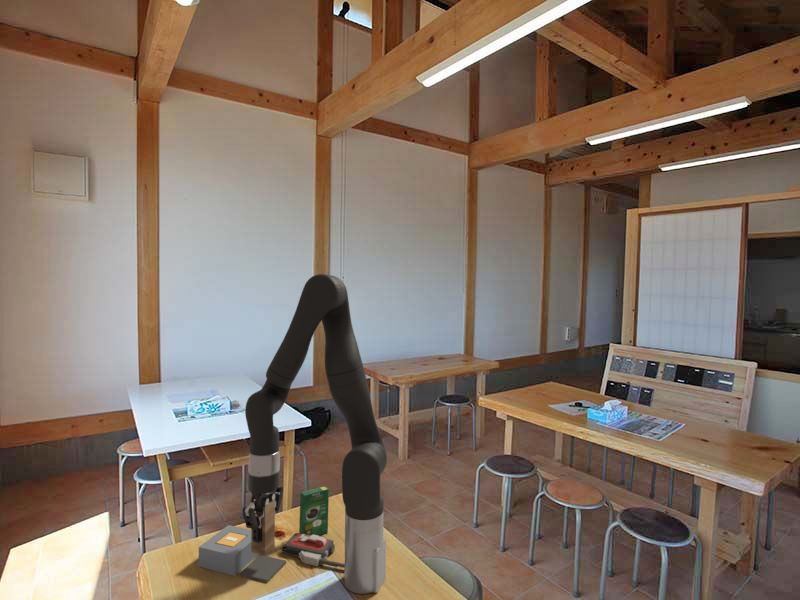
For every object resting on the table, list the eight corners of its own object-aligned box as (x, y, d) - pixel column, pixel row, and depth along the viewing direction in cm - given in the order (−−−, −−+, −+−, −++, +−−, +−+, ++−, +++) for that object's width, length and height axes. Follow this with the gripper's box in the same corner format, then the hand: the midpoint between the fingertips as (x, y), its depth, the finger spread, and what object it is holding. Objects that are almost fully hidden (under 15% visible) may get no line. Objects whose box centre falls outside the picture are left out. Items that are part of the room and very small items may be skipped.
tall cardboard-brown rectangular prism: (274, 546, 111) (274, 499, 110) (265, 555, 107) (265, 506, 107) (261, 543, 112) (261, 497, 112) (251, 552, 108) (251, 504, 108)
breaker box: (262, 550, 117) (262, 532, 117) (234, 575, 107) (235, 555, 107) (228, 542, 121) (228, 524, 120) (198, 566, 110) (198, 546, 110)
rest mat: (286, 563, 112) (286, 560, 112) (267, 582, 104) (267, 580, 104) (259, 556, 114) (259, 554, 114) (239, 575, 107) (239, 573, 107)
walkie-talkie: (276, 559, 114) (346, 575, 108) (276, 542, 114) (346, 557, 108) (294, 540, 123) (359, 554, 117) (294, 525, 122) (360, 538, 116)
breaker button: (246, 550, 115) (246, 535, 115) (233, 562, 110) (233, 546, 110) (230, 546, 117) (230, 531, 117) (216, 558, 112) (216, 542, 112)
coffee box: (324, 528, 128) (324, 484, 128) (329, 532, 126) (329, 487, 126) (298, 537, 124) (299, 491, 123) (303, 542, 121) (303, 495, 121)
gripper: (259, 482, 101) (258, 556, 101) (292, 460, 114) (291, 525, 115) (232, 477, 103) (231, 549, 104) (268, 456, 117) (267, 520, 117)
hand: (263, 536), depth 109 cm, fingers closed on tall cardboard-brown rectangular prism, 4 cm apart
